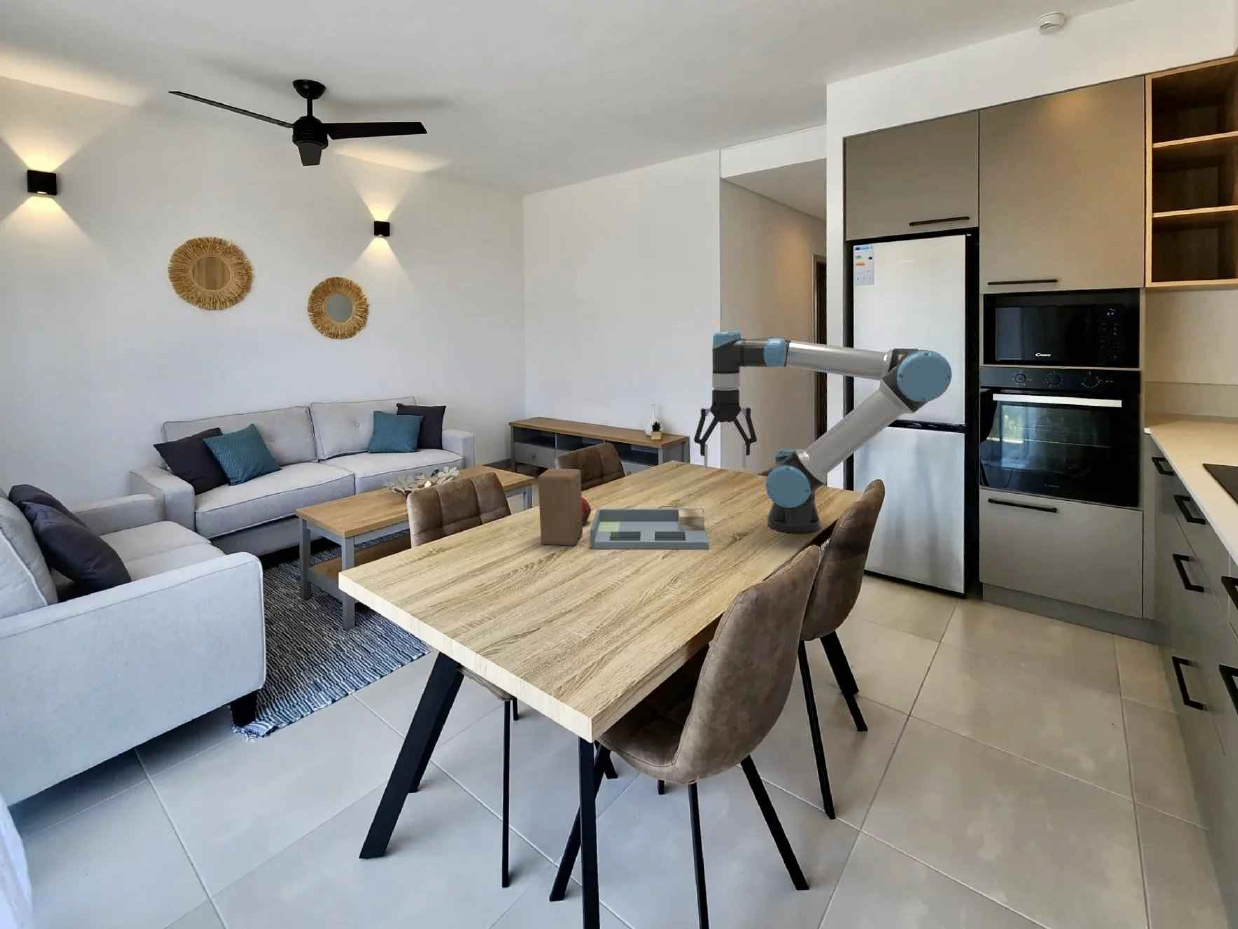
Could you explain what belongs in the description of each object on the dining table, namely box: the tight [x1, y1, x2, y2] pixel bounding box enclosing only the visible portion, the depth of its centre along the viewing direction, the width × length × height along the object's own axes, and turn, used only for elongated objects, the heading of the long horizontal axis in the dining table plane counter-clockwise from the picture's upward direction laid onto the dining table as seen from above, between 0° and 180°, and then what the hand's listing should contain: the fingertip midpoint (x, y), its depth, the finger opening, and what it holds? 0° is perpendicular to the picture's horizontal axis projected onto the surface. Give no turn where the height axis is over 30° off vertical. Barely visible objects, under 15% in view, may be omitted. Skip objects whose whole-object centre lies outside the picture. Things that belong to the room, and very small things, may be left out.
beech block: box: [678, 510, 705, 530], centre depth 175 cm, size 7×7×4 cm
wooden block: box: [537, 468, 584, 546], centre depth 170 cm, size 10×10×20 cm
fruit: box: [581, 496, 592, 524], centre depth 187 cm, size 9×10×10 cm
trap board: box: [589, 508, 710, 550], centre depth 173 cm, size 32×20×6 cm, turn 86°
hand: (724, 466), depth 171 cm, fingers open, 10 cm apart
